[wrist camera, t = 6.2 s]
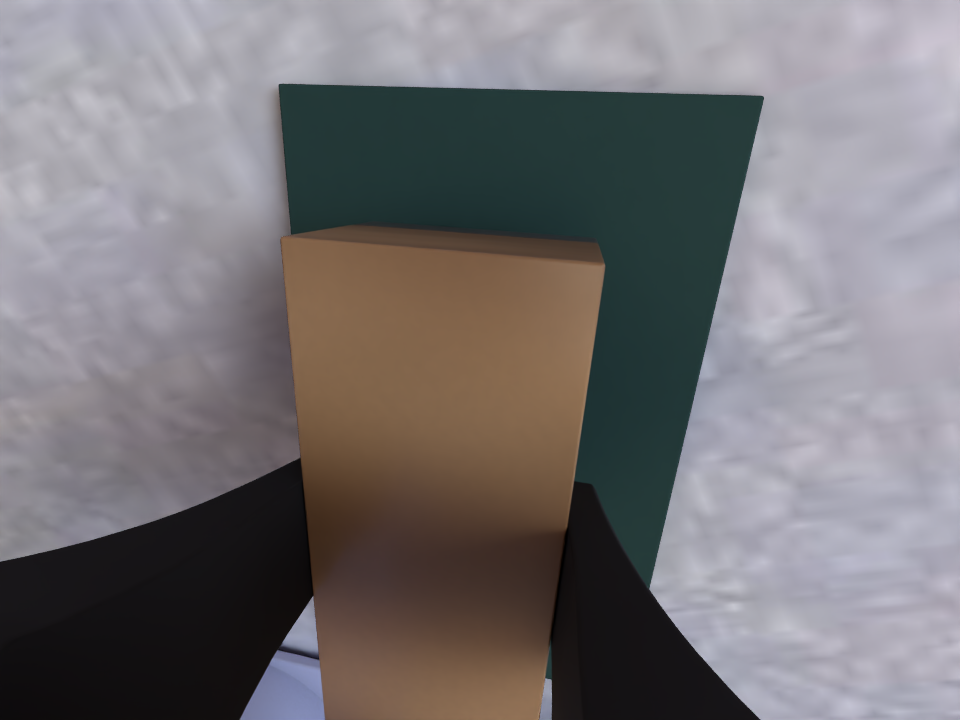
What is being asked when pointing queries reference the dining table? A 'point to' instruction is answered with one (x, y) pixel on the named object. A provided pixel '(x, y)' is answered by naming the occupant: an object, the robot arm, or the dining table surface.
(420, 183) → the desk mat
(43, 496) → the dining table surface
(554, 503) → the eraser
